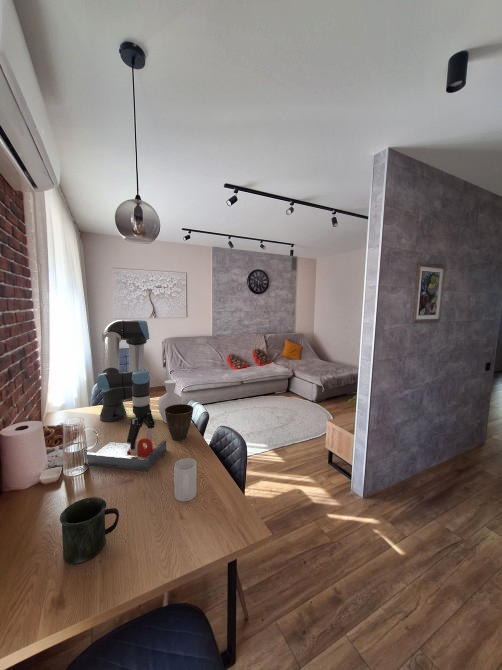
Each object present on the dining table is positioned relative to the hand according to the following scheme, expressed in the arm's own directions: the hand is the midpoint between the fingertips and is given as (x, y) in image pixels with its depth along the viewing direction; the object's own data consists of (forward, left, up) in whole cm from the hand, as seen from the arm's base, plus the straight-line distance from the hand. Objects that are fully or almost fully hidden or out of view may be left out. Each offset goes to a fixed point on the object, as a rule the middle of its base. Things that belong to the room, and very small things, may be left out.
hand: (142, 447), depth 127 cm
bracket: (0, 0, -2) cm, 2 cm away
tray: (+2, -6, -4) cm, 7 cm away
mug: (+48, +12, -4) cm, 50 cm away
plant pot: (-21, +10, -4) cm, 23 cm away
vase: (-41, -4, -4) cm, 41 cm away
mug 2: (+24, +31, -4) cm, 40 cm away
